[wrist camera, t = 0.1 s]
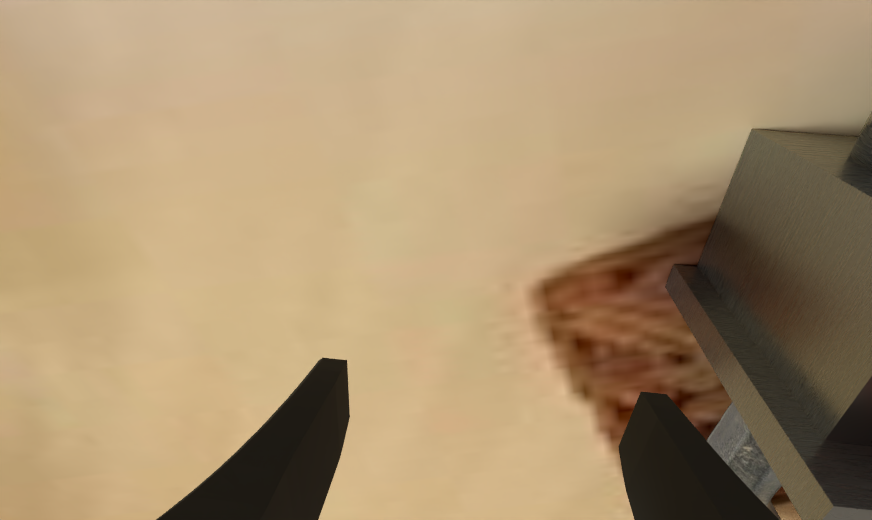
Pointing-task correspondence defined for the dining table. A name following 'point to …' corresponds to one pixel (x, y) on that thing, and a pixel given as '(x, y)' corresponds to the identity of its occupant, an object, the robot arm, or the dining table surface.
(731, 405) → the pipe
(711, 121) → the dining table surface
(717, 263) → the valve
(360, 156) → the dining table surface
